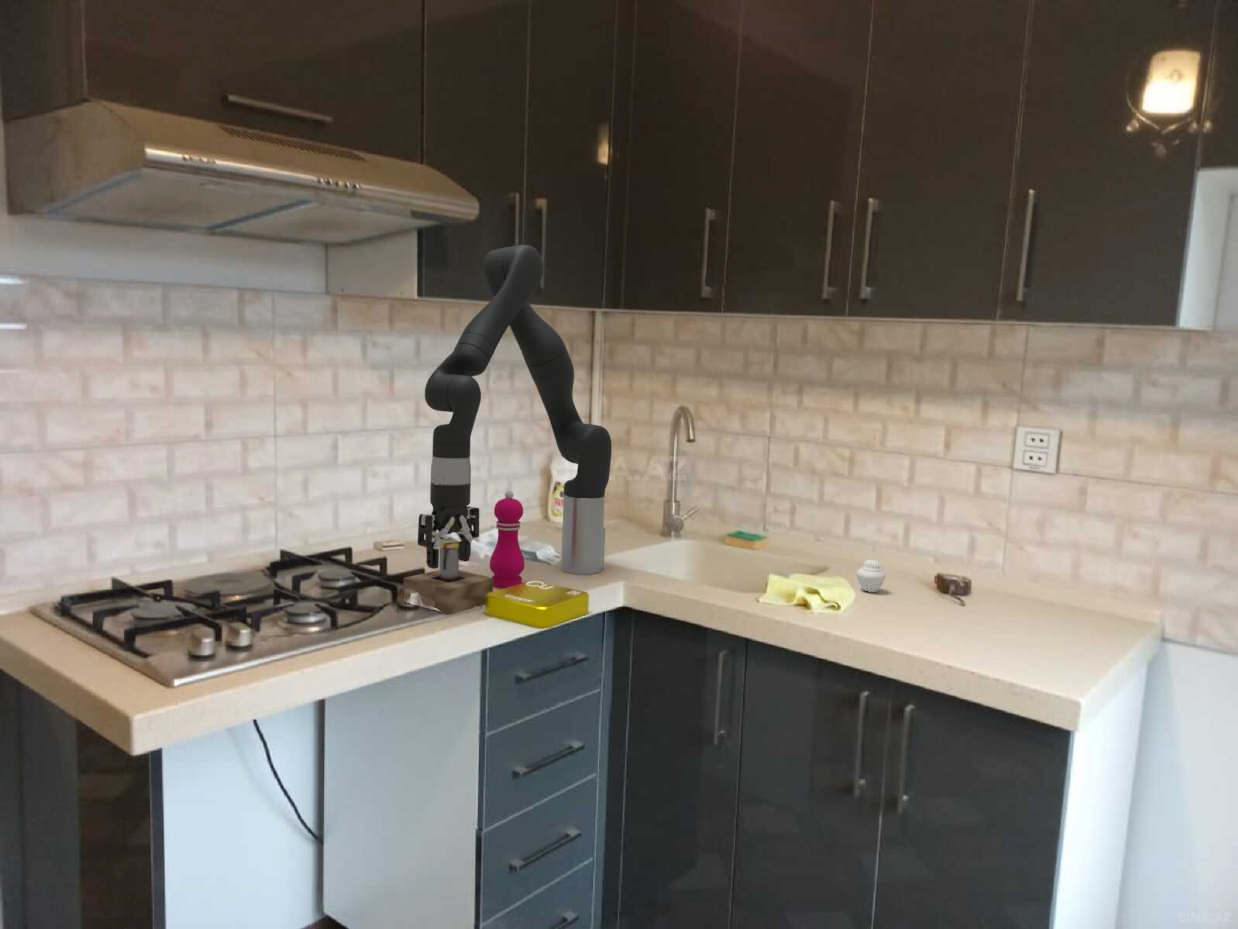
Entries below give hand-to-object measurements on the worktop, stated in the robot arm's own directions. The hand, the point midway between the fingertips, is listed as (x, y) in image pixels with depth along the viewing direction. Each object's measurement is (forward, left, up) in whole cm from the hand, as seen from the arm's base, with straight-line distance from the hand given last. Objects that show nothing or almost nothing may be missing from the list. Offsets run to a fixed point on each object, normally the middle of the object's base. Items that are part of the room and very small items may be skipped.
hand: (448, 564), depth 181 cm
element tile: (-6, +17, -8) cm, 20 cm away
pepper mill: (-18, -1, -8) cm, 20 cm away
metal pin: (0, 0, -8) cm, 8 cm away
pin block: (0, 0, -8) cm, 8 cm away
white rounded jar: (-70, +59, -8) cm, 92 cm away
